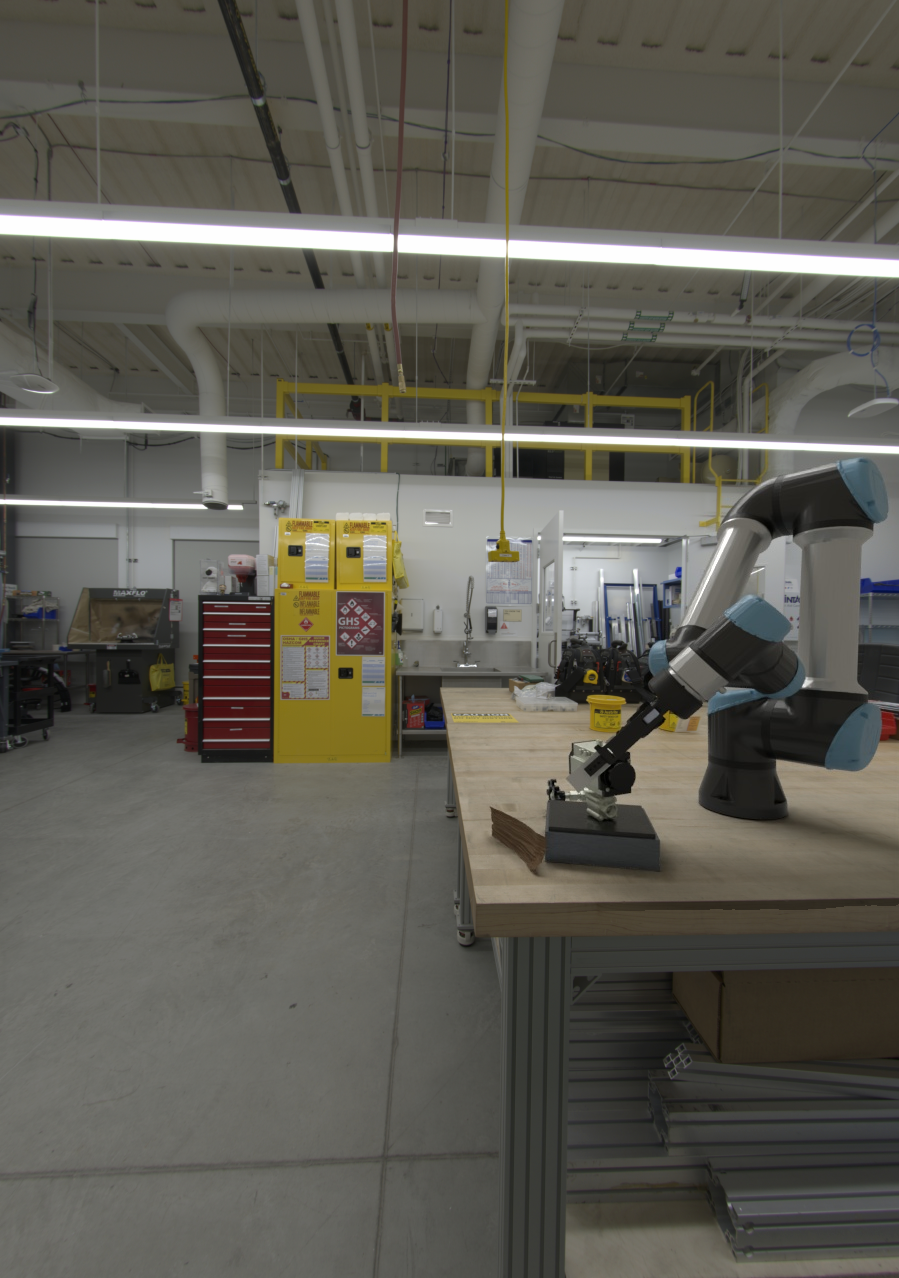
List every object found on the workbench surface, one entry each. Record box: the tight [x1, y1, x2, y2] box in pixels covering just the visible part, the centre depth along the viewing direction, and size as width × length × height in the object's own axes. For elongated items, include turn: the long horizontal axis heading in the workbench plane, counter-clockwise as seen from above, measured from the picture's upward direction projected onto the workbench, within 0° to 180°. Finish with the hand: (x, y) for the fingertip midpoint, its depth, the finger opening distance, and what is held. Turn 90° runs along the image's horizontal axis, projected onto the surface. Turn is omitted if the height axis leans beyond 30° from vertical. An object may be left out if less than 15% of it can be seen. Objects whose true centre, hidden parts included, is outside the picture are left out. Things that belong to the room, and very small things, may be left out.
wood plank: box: [489, 806, 547, 875], centre depth 79 cm, size 15×2×5 cm, turn 24°
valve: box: [546, 778, 594, 802], centre depth 97 cm, size 7×7×12 cm
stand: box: [544, 800, 661, 872], centre depth 81 cm, size 16×14×5 cm
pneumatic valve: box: [568, 739, 637, 821], centre depth 80 cm, size 6×12×12 cm, turn 17°
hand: (582, 774), depth 82 cm, fingers open, 13 cm apart
